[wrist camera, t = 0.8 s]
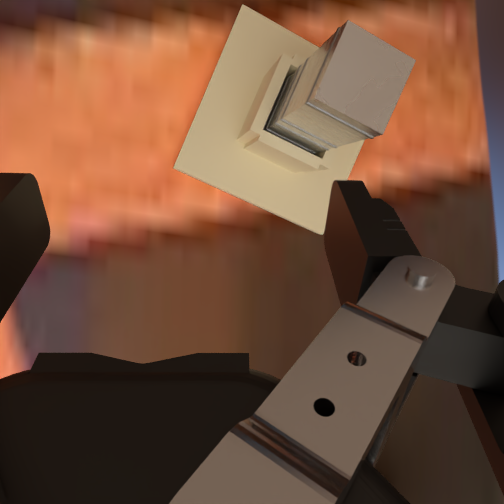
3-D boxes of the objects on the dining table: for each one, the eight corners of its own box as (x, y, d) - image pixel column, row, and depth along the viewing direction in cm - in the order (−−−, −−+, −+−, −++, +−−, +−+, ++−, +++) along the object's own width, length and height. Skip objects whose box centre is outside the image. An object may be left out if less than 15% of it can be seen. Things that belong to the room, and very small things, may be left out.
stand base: (173, 168, 36) (174, 162, 29) (239, 11, 36) (257, -35, 28) (316, 233, 40) (350, 242, 32) (380, 90, 39) (429, 66, 32)
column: (252, 137, 35) (311, 99, 21) (273, 89, 35) (347, 17, 21) (297, 159, 36) (383, 137, 22) (317, 113, 36) (418, 59, 22)
